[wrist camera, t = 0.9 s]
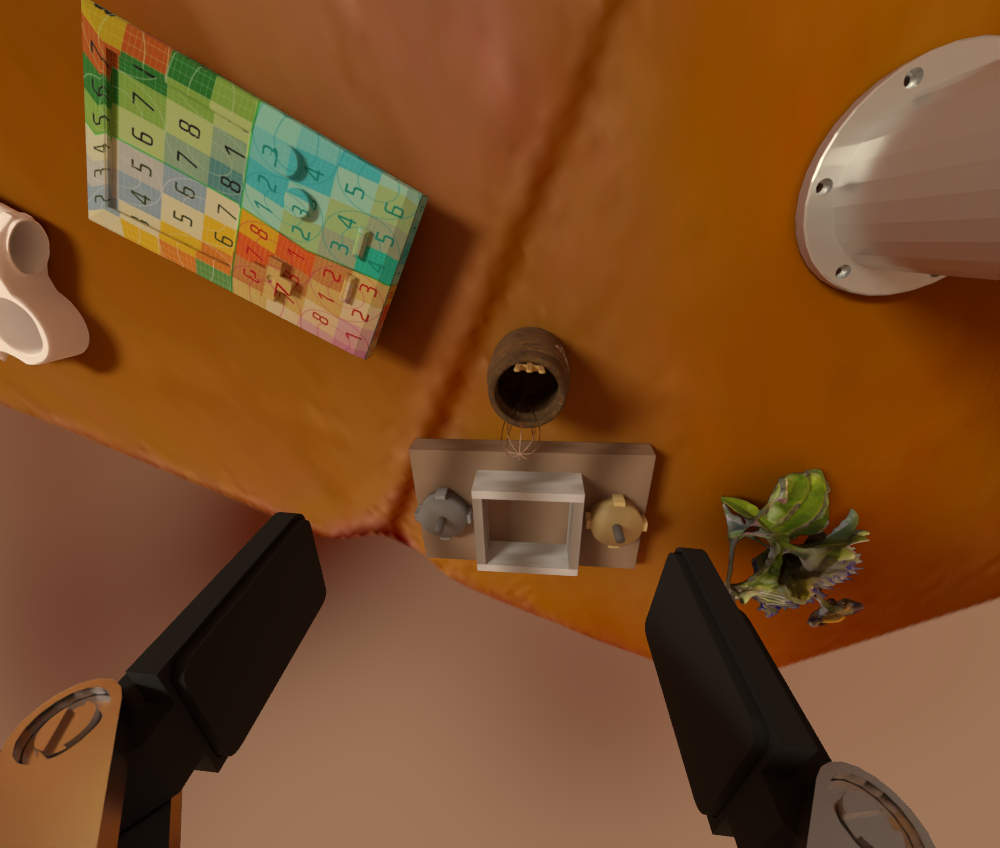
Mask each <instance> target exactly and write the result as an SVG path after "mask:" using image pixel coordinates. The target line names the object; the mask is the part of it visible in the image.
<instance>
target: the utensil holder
mask: <svg viewBox="0 0 1000 848" xmlns="http://www.w3.org/2000/svg"><path fill="white" fill-rule="evenodd" d="M487 384H488V394H489V399H490V403H491V405H492V407H493V409H494V411H495V412H496V413H497V415H498V416H499V417H500V418H501V419H503V420H504V421H505V422H507V423H508V424H511V425H514V426H517V427H521V433H522V428H534V427H535V429H536V427H539V430H540V426H542V425H544V424H546V423H548V422H550V421H551V420H553V419H554V418H555V417H556V416H557V415H558V414H559V412H560V411H561V409H562V408H563V406H564V403H565V400H566V396H567V392H568V389H569V384H570V370H569V365H568V360H567V356H566V353H565V351H564V348H563V346H562V345H561V343H560V342H559V341H558V339H557V338H556V337H555V336H554V335H552V334H551V333H549V332H548V331H546V330H543V329H540V328H536V327H524V328H519V329H516V330H514V331H512V332H510V333H509V334H507V335H506V336H505V337H504V338H503V339H502V340H501V341H500V342H499V344H498V345H497V347H496V349H495V351H494V353H493V356H492V358H491V361H490V364H489V367H488V373H487ZM505 422H504V424H505ZM503 427H504V425H503ZM511 427H512V426H511ZM510 430H511V428H510ZM502 433H503V428H502ZM509 433H510V431H509ZM507 434H508V427H507ZM532 434H533V430H532ZM534 436H535V432H534ZM534 436H533V439H532V440H533V446H534ZM508 438H509V434H508ZM508 438H507V443H508ZM509 441H510V439H509ZM531 442H532V441H531ZM531 442H530V444H531ZM501 443H502V436H501ZM510 443H511V442H510ZM539 443H540V436H539ZM520 444H521V434H520ZM530 444H529V445H530ZM502 445H503V444H502ZM511 445H512V444H511ZM529 445H528V446H527V448H528V447H529ZM503 447H504V446H503ZM512 447H513V445H512ZM538 447H539V445H538ZM538 447H537V448H538ZM504 448H505V447H504ZM513 448H514V447H513ZM527 448H526V449H527ZM537 448H536V449H537ZM505 449H506V454H507V451H508V450H507V446H506V448H505ZM526 449H525V450H526ZM536 449H535V450H536ZM514 450H515V448H514ZM525 450H524V451H525ZM535 450H534V451H535ZM515 451H516V450H515ZM524 451H522V452H524ZM534 451H533V449H532V452H530V453H532V455H533V452H534ZM509 452H510V451H509ZM516 452H517V451H516ZM522 452H521V453H522ZM511 453H513V452H511ZM521 453H520V446H519V453H518V452H517V453H513V454H518V455H519V456H522V455H525V454H521ZM530 453H527V454H530ZM507 455H508V454H507ZM518 455H516V456H518ZM532 455H531V457H532ZM509 457H511V456H509ZM512 457H515V456H512ZM522 457H523V456H522ZM531 457H529V458H531ZM523 458H525V457H523ZM529 458H526V459H529ZM518 461H519V458H518Z"/></svg>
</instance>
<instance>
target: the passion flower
mask: <svg viewBox="0 0 1000 848" xmlns="http://www.w3.org/2000/svg"><path fill="white" fill-rule="evenodd" d="M830 491H831V489H830V487H829V484H828V482H827V481H826V480H825V477H824V473H823V472H822V471H821V470H820V469H810V470H807V471H805V472H804V473H792V474H788V475H787V476H785V477H782V478H779V479H778V483H777V484H776V487H775V489H774V490H773V492H772V494H771V496H770V498H769V500H768V503H767V504H766V505H765V506H764V507H763V508H762V509H761V510H759V509H758V508H757V507H756V506H755V505H753V504H751V503H749V502H748V501H745V500H742V499H739V498H734V497H724V496H722V497H721V501H722V502H723V508H724V512H725V515H726V519H727V524H728V536H727V537H728V539H729V542H730V553H729V564H728V572H727V578H726V582H725V586H726V588H727V590H728V592H729V593H730V595H731V597H732V599H733V600H734V602H735V600H740V602H741V603H742V604H743V605H744V604H745V603H747V602H748V601H749V599H750V598H753V599H755V600H756V601H758V603H759V604H760V607H758V609H757V610H763V611H765V615H766V617H771V616H772V615H773V614H774V615H776V614H777V613H778V611H779V610H780V609H781V608H783V609H784V610H787V608H788V607H790V608H794V609H796V608H799V605H800V604H801V605H804V604H805V603H806V604H808V603H809V602H811V603H814V600H813V598H815V599H816V600H817V601H818V602H819V603H820V605H821V606H820V608H819V609H818V610H816V611H814V612H813V613H812V614H811V615H810V617H809V619H808V622H807V623H808V624H809V625H810V626H811V627H818V626H823V625H826V624H827V623H835V622H840V621H842V620H843V619H845V617H844V616H847V615H852V614H855V613H856V612H859V611H860V610H863V608H864V607H863V604H861V603H859V602H855V601H853V600H851V599H842V600H840V601H838V602H836V601H835V599H832V598H831V599H828V600H825V599H824V597H827V595H825V594H824V593H823V592H821V589H831V590H832V589H834V588H831V587H829V586H832V585H836V583H844V581H842V580H853V579H851V578H846V576H849V575H852V574H857V575H859V574H858V573H857V572H855V571H856V570H859V569H864V568H857V567H856V566H854V565H855V564H859V563H860V562H863V561H861V560H860V556H861V554H862V553H859V554H856V552H854V549H856V548H852V547H850V546H849V545H852V544H855V543H860V542H866V541H869V539H867V538H866V536H864V535H870V532H868V531H864V530H856V529H855V528H856V526H857V525H858V523H859V519H858V514H857V513H856V511H855V510H853V509H850V513H849V514H848V515H847V518H846V519H845V520H842V521H841V523H840V524H839V526H838V527H836V528H834V529H833V532H832V533H831V534H829V535H827V534H826V533H824V532H823V529H825V528H826V527H827V526H828V524H829V520H828V519H829V509H828V505H829V499H828V493H829V492H830ZM726 504H727V505H728V506H729V507H730V508H732V509H733V510H734V511H736V512H737V513H738V514H739V515H741V516H742V517H743V518H744V519H745V520H746V524H744V523H743V520H742V518H741V517H739V516H737V515H733V514H732V513H730V511H729V509H728V507H727V505H726ZM750 526H756V527H759V529H760V530H758V531H756V532H747V531H745V530H746V529H747V528H748V527H750ZM799 535H808V536H809V535H810V536H809V537H808V538H807V540H806V541H805V543H804V544H802V545H794V544H791V543H790V539H796V537H798V536H799ZM757 536H759V537H762V538H764V539H766V540H767V541H768V542H769V543H770V545H769V546H768V545H766V544H764V543H763V542H761V541H760V540H758V539H757V538H756V537H757ZM743 537H749V538H752V539H753V540H755V541H757V542H759V543H761V544H762V545H764V546H766V547H767V549H766V550H765V551H764V552H762V553H761V554H759V555H758V556H757V557H755V558H753V559H752V566H753V568H754V575H752V576H751V577H749V579H748V580H746V581H744V582H741V583H737V584H735V583H734V584H730V580H731V575H732V571H733V559H734V549H735V546H736V544H737V543H738V541H739V540H740V539H742V538H743Z"/></svg>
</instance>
